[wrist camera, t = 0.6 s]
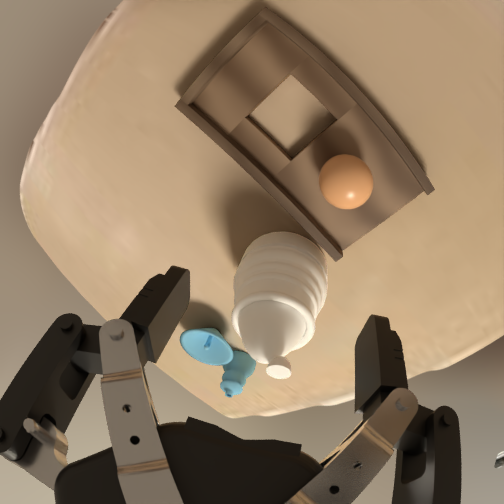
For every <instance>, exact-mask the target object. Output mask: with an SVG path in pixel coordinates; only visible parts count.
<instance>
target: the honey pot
mask: <svg viewBox="0 0 504 504" xmlns="http://www.w3.org/2000/svg"><path fill="white" fill-rule="evenodd" d="M327 279H328V271H327V262H326V259H325V257H324V254H323V253H322V251H321V250H320V249H319V248H318V246H317V245H316V244H314V243H313V242H312V241H310V240H309V239H308V238H306V237H303V236H301V235H299V234H296V233H291V232H285V231H282V232H271V233H268V234H265V235H262V236H260V237H259V238H257V239H255V240H254V241H252V243H251V244H250V245H249V246H248V248H247V249H246V251H245V253H244V255H243V257H242V259H241V262H240V264H239V266H238V268H237V271H236V273H235V276H234V288H233V289H234V308H233V311H232V324H233V327H234V329H235V331H236V332H237V333H238V335H239V336H240V337H241V338H242V341H243V344H244V346H245V349H246V350H247V352H248V353H249V355H250V356H251V357H252V358H253V359H254V360H256V361H257V362H260V363H264V364H268V363H269V364H268V366H267V369H266V372H267V374H268V375H269V376H271V377H273V378H276V379H285V378H288V377H289V376H290V375H291V365H290V362H289V361H288V359H287V358H285V357H284V356H285V355H287V354H288V353H289V352H290V351H293V350H296V349H299V348H301V347H302V346H304V345H305V344H307V343H308V342H309V341H310V339H311V338H312V337H313V334H314V331H315V320H316V317H317V315H318V314H319V311H320V310H321V309H322V307H323V306H324V303H325V299H326V296H327Z"/></svg>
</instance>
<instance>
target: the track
mask: <svg viewBox="0 0 504 504" xmlns="http://www.w3.org/2000/svg"><path fill="white" fill-rule="evenodd" d="M289 75H292V76H294V77H295V78H296V79H297V80H298V81H299V82H300V83H301V84H302V85H303V86H304V87H305V88H306V89H307V90H309V91H310V92H311V93H312V94H313V95H314V96H315V97H316V98H317V99H318V100H319V101H320V102H321V103H322V104H323V105H324V106H325V107H326V108H327V109H328V110H329V112H330V113H331V114H332V115H333V116H334V117H335V118H336V120H335V121H334V122H333V123H332V124H331V125H330V126H328V127H327V128H326V129H325V130H324V131H323V132H321V133H320V134H319V135H318V136H317V137H316V138H315V139H313V140H312V141H311V142H310V143H309V144H308V145H307V146H306V147H304V148H303V149H302V150H301V151H300V152H299V153H298V154H297V155H295V156H294V157H293V158H291V157H290V156H289V155H288V154H287V153H286V152H285V151H284V150H283V149H282V148H281V147H280V146H279V145H278V144H277V143H276V142H275V141H274V140H273V139H272V138H270V137H269V136H268V135H267V134H266V133H265V132H264V131H263V130H262V129H261V128H260V127H259V126H258V125H257V124H256V123H255V122H253V121H252V120H251V119H250V118H249V117H248V116H249V115H250V113H251V112H252V111H253V110H254V109H255V108H256V107H257V106H258V105H259V104H260V103H261V102H262V101H263V100H264V99H265V98H266V97H267V96H268V95H269V94H270V93H272V92H273V91H274V90H275V89H276V88H277V87H278V86H279V85H280V84H281V83H282V82H283V81H284V80H285V79H286V78H287V77H288V76H289ZM175 107H176V108H177V109H178V110H179V111H180V112H182V113H183V114H184V115H185V116H186V117H187V118H188V119H190V120H191V121H192V122H193V123H194V124H195V125H196V126H198V127H199V128H200V129H201V130H202V131H203V132H204V133H205V134H206V135H208V136H209V137H210V138H211V139H212V140H213V141H214V142H215V143H216V144H218V145H219V146H220V147H221V148H222V149H223V150H224V151H225V152H226V153H227V154H228V155H229V156H231V157H232V158H233V159H234V160H235V161H236V162H237V163H238V164H239V165H240V166H241V167H242V168H243V169H244V170H245V171H246V172H248V173H249V174H250V175H251V176H252V177H253V178H254V179H255V180H256V181H257V182H258V183H259V184H260V185H261V186H262V187H263V188H264V189H265V190H266V191H267V192H268V193H269V194H270V195H271V196H272V197H273V198H274V199H275V200H276V201H277V202H278V203H279V204H280V205H281V206H282V207H283V208H284V209H285V210H286V211H287V212H288V213H289V214H290V215H291V216H292V217H293V218H294V219H295V220H296V221H297V222H298V223H299V224H300V225H301V226H302V227H303V228H304V229H305V230H306V231H307V232H308V233H309V234H310V235H311V236H312V237H313V238H314V239H315V240H316V241H317V242H318V244H319V245H320V246H321V247H322V248H323V249H324V250H325V251H326V252H327V253H328V254H329V255H330V256H331V257H332V258H333V259H334V261H335V262H336V261H338V260H339V259H341V258H342V257H343V252H342V251H343V250H344V249H346V248H347V247H349V246H350V245H351V244H353V243H354V242H356V241H357V240H358V239H360V238H361V237H363V236H364V235H365V234H367V233H368V232H370V231H371V230H372V229H374V228H375V227H377V226H378V225H379V224H381V223H382V222H383V221H385V220H386V219H387V218H389V217H390V216H391V215H393V214H394V213H396V212H397V211H398V210H400V209H401V208H402V207H404V206H405V205H406V204H407V203H409V202H410V201H411V200H413V199H414V198H415V197H417V196H418V195H419V194H421V193H422V192H423V191H425V193H426V194H427V195H429V194H430V193H431V192H432V191H434V190H435V189H434V187H433V185H432V184H431V182H430V181H429V179H428V178H427V176H426V174H425V173H424V171H423V170H422V168H421V167H420V165H419V164H418V162H417V161H416V160H415V158H414V157H413V155H412V154H411V152H410V151H409V150H408V148H407V147H406V146H405V144H404V143H403V141H402V140H401V139H400V137H399V136H398V135H397V134H396V132H395V131H394V130H393V128H392V127H391V126H390V125H389V123H388V122H387V121H386V120H385V118H384V117H383V116H382V115H381V114H380V112H379V111H378V110H377V109H376V108H375V106H374V105H373V104H372V103H371V102H370V101H369V100H368V98H367V97H366V96H365V95H364V94H363V93H362V92H361V91H360V90H359V89H358V87H357V86H356V85H355V84H354V83H353V82H352V81H351V80H350V79H349V78H348V77H347V76H346V75H345V74H344V73H343V72H342V71H341V70H340V69H339V68H338V67H337V66H336V65H335V64H334V63H333V62H332V61H331V60H330V59H329V58H328V57H326V56H325V55H324V54H323V53H322V52H321V51H320V50H319V49H318V48H317V47H315V46H314V45H313V44H312V43H311V42H310V41H309V40H307V39H306V38H305V37H304V36H303V35H301V34H300V33H299V32H298V31H297V30H295V29H294V28H293V27H292V26H290V25H289V24H288V23H287V22H285V21H284V20H283V19H281V18H280V17H279V16H277V15H276V14H275V13H273V12H272V11H270V10H269V9H268V8H266V7H265V8H264V9H263V10H262V11H261V12H259V13H258V14H257V15H256V16H255V17H254V18H253V19H252V20H251V21H250V22H249V23H248V24H247V25H246V26H245V27H244V28H243V29H242V30H241V31H240V32H239V33H238V34H237V35H236V36H235V37H234V38H233V39H232V40H231V41H230V42H229V43H228V44H227V45H226V46H225V47H224V48H223V49H222V50H221V51H220V52H219V53H218V55H217V56H216V57H215V58H214V59H213V60H212V61H211V62H210V63H209V65H208V66H207V67H206V68H205V69H204V70H203V72H202V73H201V74H200V75H199V76H198V77H197V79H196V80H195V81H194V82H193V83H192V85H191V86H190V87H189V88H188V90H187V91H186V92H185V93H184V95H183V96H182V97H181V98H180V100H179V101H178V102H177V104H176V105H175ZM341 154H348V155H353V156H356V157H358V158H360V159H361V160H362V161H364V162H365V163H366V164H367V166H368V167H369V169H370V171H371V173H372V176H373V190H372V193H371V195H370V197H369V198H368V200H367V201H366V202H365V203H364V204H363V205H361V206H359V207H357V208H354V209H340V208H337V207H335V206H333V205H332V204H330V203H329V202H328V201H327V200H326V199H325V198H324V196H323V195H322V193H321V190H320V187H319V175H320V171H321V169H322V167H323V165H324V164H325V163H326V162H327V161H328V160H329V159H331V158H332V157H334V156H337V155H341Z"/></svg>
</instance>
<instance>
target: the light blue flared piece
mask: <svg viewBox="0 0 504 504" xmlns="http://www.w3.org/2000/svg"><path fill="white" fill-rule="evenodd" d="M180 343H181V345H182V347H183V349H184V350H185V351H186V352H187V353H188V354H189V355H190V356H191V357H193V358H195V359H196V360H198V361H200V362H203V363H206V364H209V365H223V369H224V371H225V373H224V374H223V376H222V380H223V381H222V382H221V384H220V387H221V389H222V390H223V391H224V392H225V396H227V397H232V396H233V395H237V394H240V393H241V392H242V390H243V389H242V387H243V386H244V385H245V383H246V378H248V377H249V376H250V375H252V373H253V372H254V370H255V366H256V361H255V360H254V359H253V358H252V357H251V356H250V355H249V354H247V353H245V352H242V351H236V350H234V351H232V349H231V347H230V346H229V344H228V343H227V342H226V340H225V339H224V338H223V336H222V335H221V334H220V333H219V331H218V330H217V329H215V328H200V329H190V330H186V331H184V332H183V333H182V334H181V336H180Z"/></svg>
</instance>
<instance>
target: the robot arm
mask: <svg viewBox="0 0 504 504" xmlns="http://www.w3.org/2000/svg"><path fill="white" fill-rule="evenodd" d="M189 300H190V271H189V270H188V269H184V268H181V267H177V266H171V267H170V269H169V270H168V271H167V273H166V274H165V275H162V274H158V275H156V276H154V277H153V278H151V279H149V281H148V282H147V283H146V284H145V286H144V287H143V289H142V290H141V291H140V292H139V293H138V295H137V296H136V297H135V299H134V300H133V301H132V302H131V304H130V305H129V306H128V308H127V309H126V310H125V312H124V313H123V314H122V316H121V317H120V318H119V319H113V320H110V321H108V322H106V323H105V324H104V325H103V326H95V325H86V324H83V323H82V320H81V318H80V317H79V316H78V315H75V314H72V313H71V314H70V313H69V314H64V315H61V316H60V317H58V318H57V319H56V320H55V321H54V323H53V324H52V325H51V326H50V328H49V329H48V331H47V332H46V333H45V334H44V336H43V337H42V339H41V340H40V341H39V343H38V344H37V345H36V347H35V348H34V350H33V351H32V352H31V354H30V355H29V357H28V358H27V360H26V361H25V362H24V364H23V365H22V367H21V368H20V370H19V371H18V373H17V374H16V376H15V378H14V379H13V381H12V382H11V384H10V386H9V387H8V389H7V390H6V392H5V393H4V395H3V397H2V398H1V400H0V455H2V456H3V457H4V458H5V459H7V460H9V461H10V462H12V463H14V464H16V465H17V466H19V467H21V468H23V469H25V470H26V471H27V472H28V473H30V474H31V475H32V476H34V477H35V478H37V479H38V480H39V481H41V482H42V483H44V484H45V485H47V486H48V487H49V488H51V489H52V490H54V492H55V493H54V494H55V502H56V504H351V503H352V502H353V501H354V500H355V499H356V498H357V497H358V495H359V494H360V493H361V492H362V491H363V490H364V489H365V488H366V486H367V485H368V484H369V483H370V482H371V481H372V479H373V478H374V477H375V476H376V475H377V473H378V472H379V471H380V470H381V469H382V467H383V466H384V465H385V464H386V462H387V461H388V460H389V458H390V457H391V456H392V454H393V452H394V450H393V449H392V448H396V449H397V457H396V471H395V481H394V490H393V497H392V504H460V502H461V501H460V500H461V444H460V430H459V421H458V416H457V414H456V412H455V411H454V410H453V409H452V408H450V407H448V406H441V407H439V408H438V409H436V410H435V411H433V410H431V409H428V408H426V407H423V406H421V405H419V404H418V400H417V398H416V396H415V395H414V394H413V393H412V392H411V391H410V390H408V384H407V375H406V368H405V361H404V355H403V352H402V351H403V349H402V343H401V340H400V338H399V336H398V335H397V333H396V331H392V330H391V329H390V323H389V319H388V318H387V317H382V316H378V315H371V316H370V317H369V319H368V320H367V322H366V324H365V326H364V328H363V329H362V331H361V333H360V335H359V336H358V338H357V341H356V345H355V413H358V414H363V420H362V421H361V422H360V423H359V424H358V425H357V427H356V428H355V429H354V430H353V431H352V432H351V433H350V434H349V435H348V436H347V437H346V438H345V439H344V440H343V441H342V442H341V443H340V444H339V445H338V446H337V447H336V448H335V449H334V450H333V451H332V452H331V453H330V454H329V455H327V456H326V457H325V458H324V459H323V460H322V461H321V462H319V463H318V462H317V461H316V460H315V459H314V458H312V457H311V456H310V455H308V454H306V453H304V452H302V451H301V444H296V443H290V442H284V441H279V440H243V439H241V438H238V437H237V436H235V435H233V434H231V433H229V432H227V431H225V430H224V429H222V428H219V427H218V426H216V425H214V424H210V423H207V422H204V421H201V420H198V419H194V418H192V417H188V419H187V421H186V422H171V423H165V424H161V425H160V423H159V420H158V417H157V414H156V411H155V408H154V405H153V401H152V397H151V394H150V390H149V386H148V382H147V378H146V374H145V370H144V366H145V364H146V363H147V361H151V362H153V363H156V362H157V360H158V359H159V357H160V355H161V353H162V351H163V350H164V348H165V346H166V344H167V342H168V341H169V339H170V337H171V335H172V333H173V332H174V330H175V328H176V326H177V325H178V323H179V321H180V319H181V318H182V316H183V314H184V312H185V311H186V309H187V307H188V304H189ZM96 374H102V375H103V378H101V390H102V396H103V403H104V409H105V414H106V419H107V425H108V430H109V434H110V439H111V443H112V447H110V448H108V449H105V450H103V451H101V452H98V453H96V454H93V455H91V456H88V457H86V458H83V459H81V460H78V461H75V462H73V463H70V464H68V463H67V460H66V454H67V450H68V441H67V438H66V436H65V435H64V433H65V431H66V429H67V427H68V425H69V423H70V421H71V419H72V417H73V416H74V413H75V412H76V410H77V408H78V406H79V404H80V402H81V400H82V398H83V397H84V395H85V393H86V391H87V389H88V388H89V386H90V384H91V382H92V380H93V378H94V377H95V375H96Z"/></svg>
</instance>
